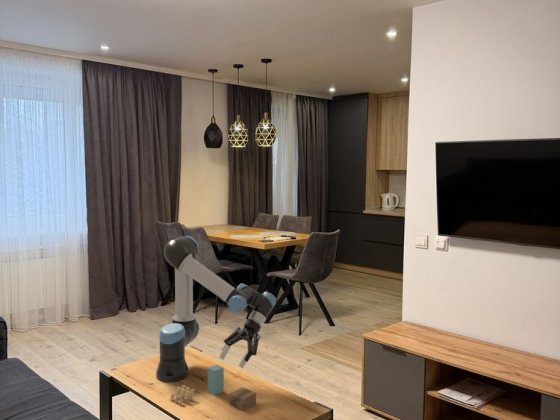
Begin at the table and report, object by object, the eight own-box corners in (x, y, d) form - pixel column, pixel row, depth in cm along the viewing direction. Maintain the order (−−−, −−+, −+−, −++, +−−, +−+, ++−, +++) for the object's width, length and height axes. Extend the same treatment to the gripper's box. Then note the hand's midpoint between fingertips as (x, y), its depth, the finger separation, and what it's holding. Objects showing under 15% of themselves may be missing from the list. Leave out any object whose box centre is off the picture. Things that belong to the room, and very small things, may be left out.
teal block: (207, 391, 217) (207, 367, 216) (216, 388, 220) (216, 364, 220) (214, 395, 213) (214, 371, 213) (223, 391, 217) (223, 367, 216)
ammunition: (184, 383, 214) (169, 389, 208) (195, 388, 209) (180, 395, 203) (184, 394, 214) (169, 400, 208) (195, 399, 210) (180, 406, 204)
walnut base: (229, 405, 205) (229, 393, 205) (242, 398, 212) (242, 387, 211) (242, 411, 200) (242, 399, 200) (256, 404, 206) (256, 392, 206)
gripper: (277, 333, 224) (253, 374, 214) (241, 320, 241) (217, 358, 231) (269, 324, 219) (244, 366, 210) (233, 312, 237) (208, 351, 227)
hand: (230, 362), depth 221 cm, fingers open, 13 cm apart
